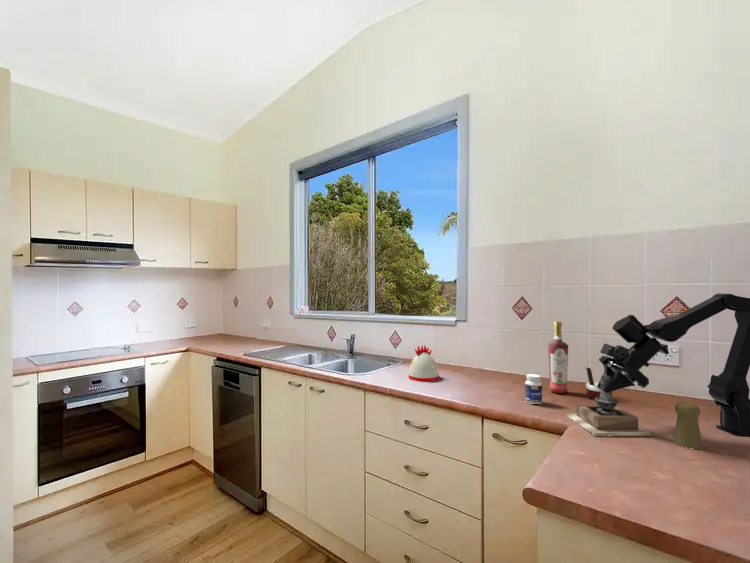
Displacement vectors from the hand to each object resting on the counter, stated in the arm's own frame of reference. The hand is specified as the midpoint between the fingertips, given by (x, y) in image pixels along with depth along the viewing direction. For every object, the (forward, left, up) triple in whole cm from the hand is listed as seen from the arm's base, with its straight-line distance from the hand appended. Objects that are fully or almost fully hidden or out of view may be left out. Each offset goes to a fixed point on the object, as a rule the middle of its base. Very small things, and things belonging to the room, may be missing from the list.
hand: (601, 389), depth 113 cm
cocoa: (+27, -13, -11) cm, 32 cm away
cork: (-13, -15, -11) cm, 23 cm away
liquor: (+35, -3, -11) cm, 37 cm away
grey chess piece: (0, -1, -7) cm, 7 cm away
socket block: (0, -1, -11) cm, 11 cm away
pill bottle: (+22, +12, -11) cm, 27 cm away
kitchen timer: (+58, +48, -11) cm, 76 cm away
